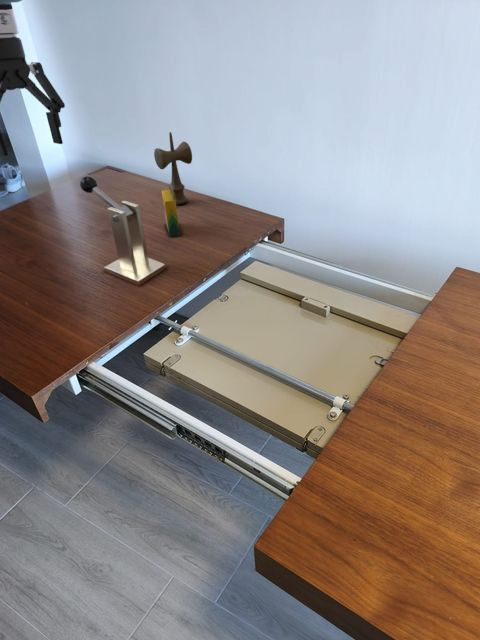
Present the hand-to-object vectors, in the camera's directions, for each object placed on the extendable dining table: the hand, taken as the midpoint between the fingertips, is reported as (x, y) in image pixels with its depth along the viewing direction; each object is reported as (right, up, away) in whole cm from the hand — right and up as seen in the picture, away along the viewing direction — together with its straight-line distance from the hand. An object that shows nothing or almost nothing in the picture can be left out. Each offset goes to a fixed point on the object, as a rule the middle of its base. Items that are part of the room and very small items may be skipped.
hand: (31, 148), depth 107 cm
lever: (+17, -13, -2) cm, 22 cm away
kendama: (+27, -2, +34) cm, 44 cm away
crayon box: (+28, -13, +21) cm, 37 cm away
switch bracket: (+22, -27, +5) cm, 35 cm away
